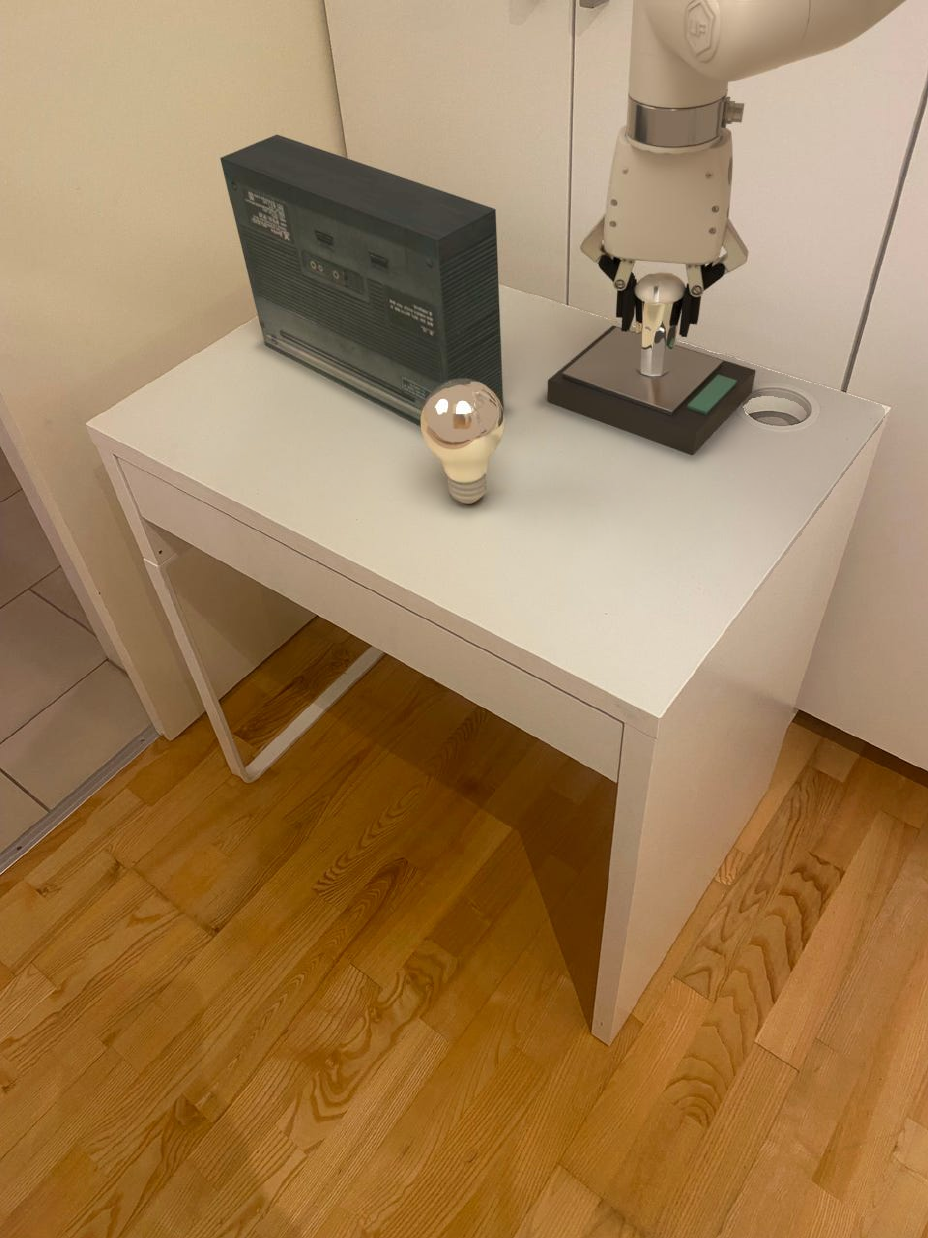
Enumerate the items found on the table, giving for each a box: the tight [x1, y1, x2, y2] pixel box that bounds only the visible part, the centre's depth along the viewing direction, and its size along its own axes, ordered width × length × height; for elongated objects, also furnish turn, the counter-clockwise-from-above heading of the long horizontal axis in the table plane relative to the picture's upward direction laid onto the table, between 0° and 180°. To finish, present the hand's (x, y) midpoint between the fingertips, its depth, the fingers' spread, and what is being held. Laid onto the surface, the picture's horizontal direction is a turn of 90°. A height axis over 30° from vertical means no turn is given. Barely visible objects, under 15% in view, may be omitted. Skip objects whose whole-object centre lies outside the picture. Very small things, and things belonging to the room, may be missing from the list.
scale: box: [547, 325, 757, 456], centre depth 93 cm, size 16×12×3 cm
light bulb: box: [420, 378, 505, 505], centre depth 81 cm, size 7×7×12 cm
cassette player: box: [219, 134, 504, 428], centre depth 93 cm, size 29×7×20 cm, turn 46°
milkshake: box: [634, 272, 687, 376], centre depth 88 cm, size 4×5×10 cm
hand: (656, 324), depth 88 cm, fingers closed on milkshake, 4 cm apart
